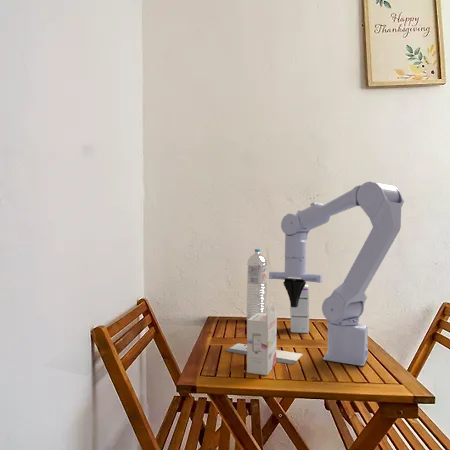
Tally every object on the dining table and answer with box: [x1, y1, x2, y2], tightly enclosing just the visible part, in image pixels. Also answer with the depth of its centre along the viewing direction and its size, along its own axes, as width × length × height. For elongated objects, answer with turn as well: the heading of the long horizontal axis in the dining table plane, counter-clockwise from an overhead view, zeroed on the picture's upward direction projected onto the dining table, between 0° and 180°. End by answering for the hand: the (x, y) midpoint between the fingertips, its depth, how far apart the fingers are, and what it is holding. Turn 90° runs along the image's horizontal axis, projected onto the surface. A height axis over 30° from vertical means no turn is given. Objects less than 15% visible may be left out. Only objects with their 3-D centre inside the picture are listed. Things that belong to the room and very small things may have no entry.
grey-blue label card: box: [224, 342, 247, 356], centre depth 104 cm, size 8×8×1 cm
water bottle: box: [246, 248, 268, 321], centre depth 138 cm, size 7×7×25 cm
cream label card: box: [276, 349, 304, 366], centre depth 98 cm, size 9×9×1 cm
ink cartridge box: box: [246, 301, 278, 376], centre depth 90 cm, size 9×5×15 cm, turn 159°
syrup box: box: [289, 283, 310, 334], centre depth 125 cm, size 6×6×14 cm
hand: (294, 306), depth 109 cm, fingers closed
